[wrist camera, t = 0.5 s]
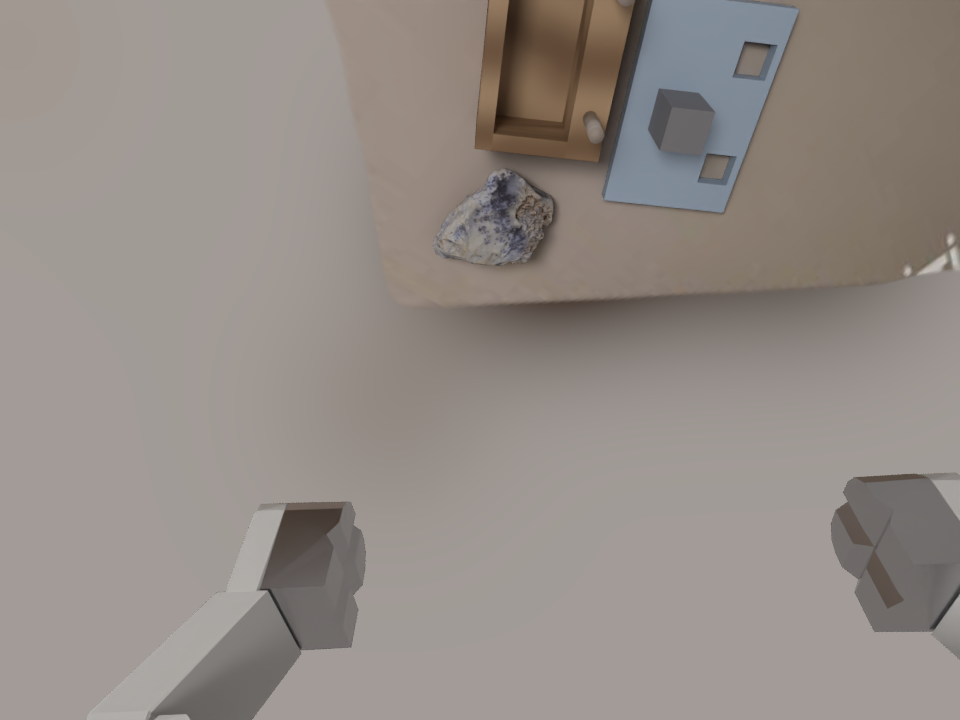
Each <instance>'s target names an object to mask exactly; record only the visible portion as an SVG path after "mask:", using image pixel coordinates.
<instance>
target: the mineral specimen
mask: <svg viewBox="0 0 960 720" xmlns="http://www.w3.org/2000/svg"><path fill="white" fill-rule="evenodd" d="M553 206H554V204H553V201H552V198H551V195H549V194H546V193H545V192H543V191H541V190H539V189H536V188H534V187H532V186H530V185H529V184H528V183H527V182H526V181H525V180H524V179H522V178H521V177H520V176H518V175H517V174H515V173H514V172H512V171H510V170H508V169H506V168H502V169H500V170H495V171H493V172H492V174H491V175H490V176H489V177H488V178H487V181H486V184H485V186H483V187H482V188H481V189H480V190H479V191H477V192H475V193H474V194H471V195H468V196H467V197H466V198H465V200H464V201H463V202H462V203H461V204H460V205H459V206H458V205H457V207H456V208H455V210H454V211H452V212H451V213H449V214H448V216H447V218H446V220H445V222H444V223H443V224H442V227H441V231H440V232H438V234H437V235H438V236H436V237H435V238H434V241H433V247H434V250H435V253H436V254H437V255H438V256H440V257H441V258H443V259H444V258H448V257H452V258H454V259H459V260H466V261H468V262H470V263H473V264H479V265H498V266H503V265H505V264H507V263H509V262H511V263H513V264H515V263H518V264H523V263H526V262H527V261H528V260H529V259H530V256H532V254H533V252H534V250H535V249H536V248H537V245H538V243H539V241H540V240H542V239H543V237H544V236H545V235H544V232H543V229H542V227H548V225H549V224H550V223H551V221H552V214H553Z"/></svg>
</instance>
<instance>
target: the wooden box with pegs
mask: <svg viewBox="0 0 960 720" xmlns="http://www.w3.org/2000/svg"><path fill="white" fill-rule="evenodd" d="M634 3H635V0H488V10H487V20H486V30H485V41H484V51H483V61H482V71H481V81H480V91H479V101H478V112H477V122H476V136H475V149H481V150H490V151H500V152H509V153H518V154H527V155H537V156H546V157H555V158H564V159H574V160H583V161H592V162H598V161H599V156H600V152H601V148H602V143H603V139H604V134H605V130H606V126H607V121H608V117H609V113H610V108H611V104H612V99H613V95H614V91H615V86H616V82H617V77H618V73H619V69H620V64H621V60H622V55H623V51H624V47H625V42H626V38H627V33H628V29H629V25H630V20H631V16H632V11H633V7H634Z"/></svg>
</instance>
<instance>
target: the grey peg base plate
mask: <svg viewBox="0 0 960 720" xmlns="http://www.w3.org/2000/svg"><path fill="white" fill-rule="evenodd" d="M798 12H799V9H798V8H796V7H794V6H790V5H781V4H773V3H765V2H757V1H749V0H648V4H647V8H646V13H645V17H644V21H643V25H642V29H641V33H640V38H639V42H638V46H637V50H636V54H635V59H634V63H633V67H632V71H631V75H630V79H629V84H628V88H627V92H626V96H625V100H624V104H623V109H622V113H621V117H620V121H619V125H618V130H617V134H616V138H615V142H614V146H613V150H612V155H611V159H610V163H609V167H608V171H607V175H606V180H605V184H604V188H603V192H602V195H603V198H604V200H607V201H616V202H626V203H635V204H645V205H654V206H664V207H673V208H683V209H692V210H702V211H711V212H721V213H723V212H724V209H725V206H726V204H727V201H728V198H729V196H730V193H731V190H732V188H733V185H734V182H735V180H736V177H737V174H738V172H739V169H740V166H741V164H742V161H743V158H744V156H745V153H746V150H747V148H748V145H749V142H750V140H751V137H752V134H753V132H754V129H755V126H756V124H757V121H758V118H759V116H760V113H761V110H762V108H763V105H764V102H765V100H766V97H767V94H768V92H769V89H770V86H771V84H772V81H773V78H774V76H775V73H776V70H777V68H778V65H779V62H780V60H781V57H782V54H783V52H784V49H785V46H786V44H787V41H788V38H789V36H790V33H791V30H792V28H793V25H794V22H795V20H796V17H797V14H798ZM745 41H747V42H756V43H764V44H771V45H770V48H769V51H768V54H767V57H766V59H765V62H764V65H763V68H762V70H761V73H760V76H750V75H742V74H734V71H735V68H736V65H737V62H738V59H739V56H740V53H741V50H742V48H743V45H744V42H745ZM707 153H709V154H718V155H727V156H730V159H729V162H728V165H727V167H726V170H725V173H724V176H723V178H722V180H721V179H711V178H702V177H699V175H700V172H701V169H702V166H703V164H704V161H705V158H706V155H707Z"/></svg>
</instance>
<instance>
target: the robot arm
mask: <svg viewBox="0 0 960 720" xmlns="http://www.w3.org/2000/svg"><path fill="white" fill-rule="evenodd" d="M843 493H844V495H845V497H846V499H847V501H848V502H847V503H845V504H844V505H842V506H841V507H840V508H838V509H837V510H836V511H835V514H834V516H833V519H832V522H831V533H832V534H831V536H832V543H833V546H834V549H835V553H836V555H837V557H838V559H839V561H840V564H841V566H842V567H843V568H844V569H845V570H847V571H848V572H849V573H851V574H852V575H853V576H855V577H856V578H857V579H858V583H857V586H856V590H855V594H856V596H857V598H858V600H859V602H860V604H861V606H862V608H863V610H864V612H865V614H866V616H867V618H868V620H869V622H870V624H871V626H872V628H873V630H874V631H875V632H916V631H917V632H920V631H922V632H924V631H925V632H927V631H929V632H931V631H933V633H932V635H933V636H934V637H935V638H936V639H937V640H938V641H940V642H941V643H942V644H943V645H944V646H945V647H946V648H948V649H949V650H950V651H951V652H952V653H953V654H954V655H955V656H957V657H958V658H959V659H960V475H959V474H957V473H934V474H919V475H918V474H902V475H886V476H870V477H869V476H868V477H855V478H853V479H851V480H850V481H848V483H847V485H846V487H845V489H844V491H843ZM354 519H355V512H354V509H353V506H352V504H351V502H310V503H274V504H261V505H260V507H258V509H257V510H256V511H255V513H254V515H253V517H252V520H251V523H250V526H249V528H248V531H247V534H246V537H245V539H244V542H243V545H242V547H241V550H240V553H239V556H238V558H237V561H236V564H235V567H234V569H233V572H232V575H231V577H230V580H229V583H228V586H227V588H226V591H225V592H216V593H215V594H214V595H213V596H212V597H211V598H210V599H209V600H208V601H207V602H206V603H205V604H204V605H203V606H201V607H200V609H198V610H197V611H196V612H195V613H194V614H193V615H192V616H191V617H190V618H189V619H188V620H187V621H186V622H185V623H184V624H183V625H181V626H180V627H179V628H178V629H177V630H176V631H175V632H174V633H173V634H172V635H171V636H170V637H169V638H168V639H167V640H166V641H165V642H164V643H163V644H162V645H160V646H159V647H158V648H157V649H156V650H155V651H154V652H153V653H152V654H151V655H150V656H149V657H148V658H147V659H146V660H145V661H144V662H143V663H142V664H140V665H139V666H138V667H137V668H136V669H135V670H134V671H133V672H132V673H131V674H130V675H129V676H128V677H127V678H126V679H125V680H124V681H123V682H121V683H120V684H119V685H118V686H117V687H116V688H115V689H114V690H113V691H112V692H111V693H110V694H109V695H108V696H107V697H106V698H105V699H104V700H102V702H100V703H99V704H98V705H97V706H96V707H95V708H94V709H93V710H92V711H91V712H90V713H89V714H88V716H87V718H86V720H252V719H253V718H254V716H255V715H256V714H257V712H258V711H259V710H260V708H261V707H262V706H263V704H264V703H265V702H266V700H267V699H268V698H269V696H270V695H271V694H272V692H273V691H274V690H275V688H276V687H277V686H278V684H279V683H280V681H281V680H282V679H283V678H284V676H285V675H286V674H287V672H288V671H289V670H290V668H291V667H292V665H293V664H294V663H295V662H296V660H297V659H298V657H299V656H300V655H301V651H300V650H314V649H331V648H348V647H351V646H352V641H353V635H354V630H355V624H356V619H357V613H358V608H357V605H356V602H355V599H354V597H353V595H354V594H355V592H356V591H357V590H358V589H359V588H360V587H361V586H362V585H363V579H364V572H365V556H366V555H365V554H366V551H365V544H364V538H363V535H362V532H361V530H360V529H358V528H357V527H355V526H354V525H353V524H354Z"/></svg>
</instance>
